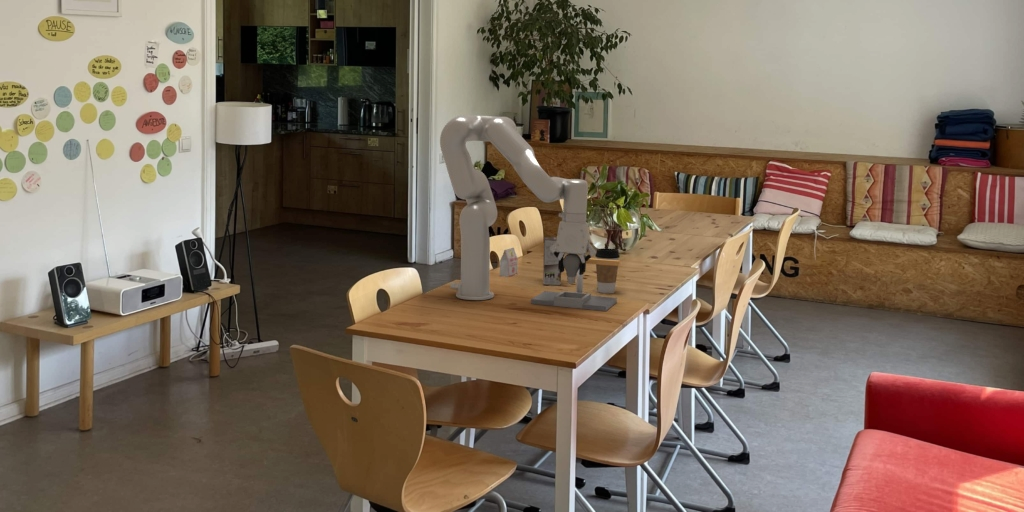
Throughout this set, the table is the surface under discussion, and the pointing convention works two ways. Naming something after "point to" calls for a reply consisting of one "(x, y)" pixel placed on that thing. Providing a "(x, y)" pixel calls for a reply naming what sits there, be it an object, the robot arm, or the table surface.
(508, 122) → the robot arm
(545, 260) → the coffee box
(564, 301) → the plate with square opening
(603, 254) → the coffee cup
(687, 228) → the table surface
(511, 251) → the red and white carton
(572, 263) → the light bulb
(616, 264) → the long wooden bar
